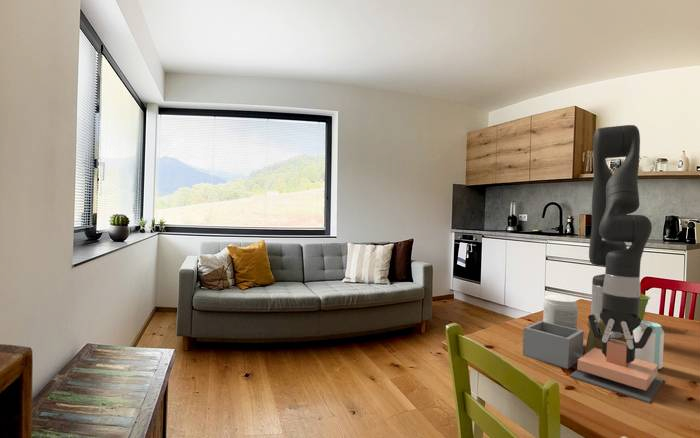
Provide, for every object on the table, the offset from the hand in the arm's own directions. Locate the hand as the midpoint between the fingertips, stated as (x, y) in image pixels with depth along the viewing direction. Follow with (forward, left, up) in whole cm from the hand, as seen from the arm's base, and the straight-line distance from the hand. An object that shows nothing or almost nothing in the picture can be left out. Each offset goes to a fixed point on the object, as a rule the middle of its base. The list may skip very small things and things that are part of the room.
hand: (617, 359), depth 93 cm
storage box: (-2, -16, -5) cm, 17 cm away
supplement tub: (-16, -19, -5) cm, 25 cm away
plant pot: (-65, -10, -5) cm, 66 cm away
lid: (0, 0, -3) cm, 3 cm away
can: (-17, +3, -5) cm, 18 cm away
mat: (0, 0, -5) cm, 5 cm away
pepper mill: (-14, -8, -5) cm, 17 cm away
